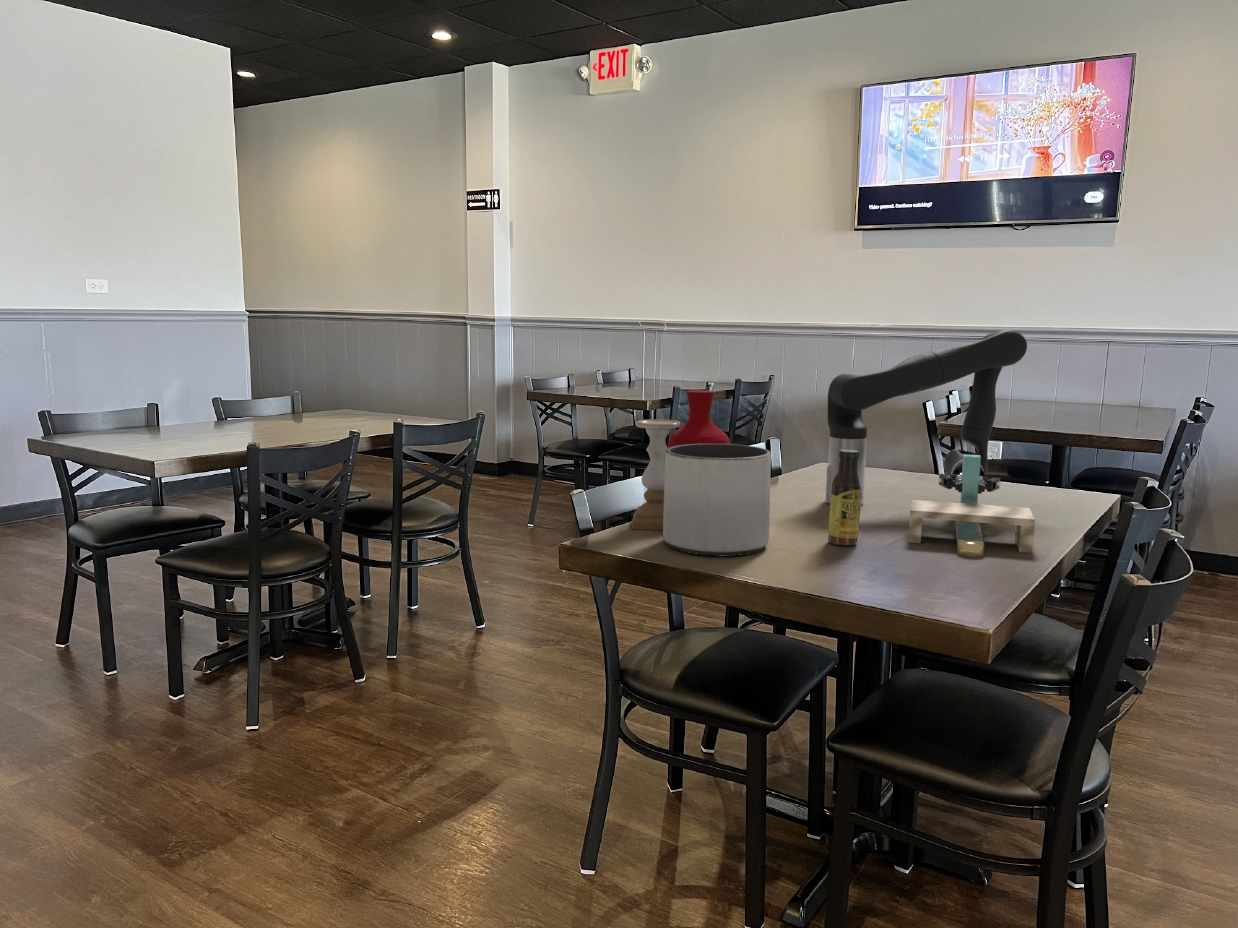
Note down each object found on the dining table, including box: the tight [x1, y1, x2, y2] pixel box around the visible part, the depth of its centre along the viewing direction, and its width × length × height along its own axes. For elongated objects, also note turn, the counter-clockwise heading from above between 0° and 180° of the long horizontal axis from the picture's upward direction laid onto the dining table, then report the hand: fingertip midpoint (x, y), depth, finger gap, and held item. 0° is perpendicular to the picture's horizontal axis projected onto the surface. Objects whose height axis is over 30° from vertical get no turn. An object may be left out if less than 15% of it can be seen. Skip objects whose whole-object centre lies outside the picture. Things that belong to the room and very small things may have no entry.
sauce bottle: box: [827, 450, 862, 547], centre depth 185 cm, size 6×6×20 cm
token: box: [956, 539, 985, 558], centre depth 178 cm, size 5×5×2 cm
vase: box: [667, 389, 731, 448], centre depth 211 cm, size 15×15×30 cm
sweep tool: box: [955, 454, 984, 546], centre depth 190 cm, size 5×24×16 cm, turn 160°
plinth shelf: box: [908, 499, 1036, 554], centre depth 188 cm, size 24×12×7 cm, turn 70°
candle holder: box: [631, 418, 682, 531], centre depth 200 cm, size 11×11×24 cm
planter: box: [662, 443, 772, 556], centre depth 183 cm, size 22×22×20 cm
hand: (970, 488), depth 197 cm, fingers closed on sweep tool, 3 cm apart
